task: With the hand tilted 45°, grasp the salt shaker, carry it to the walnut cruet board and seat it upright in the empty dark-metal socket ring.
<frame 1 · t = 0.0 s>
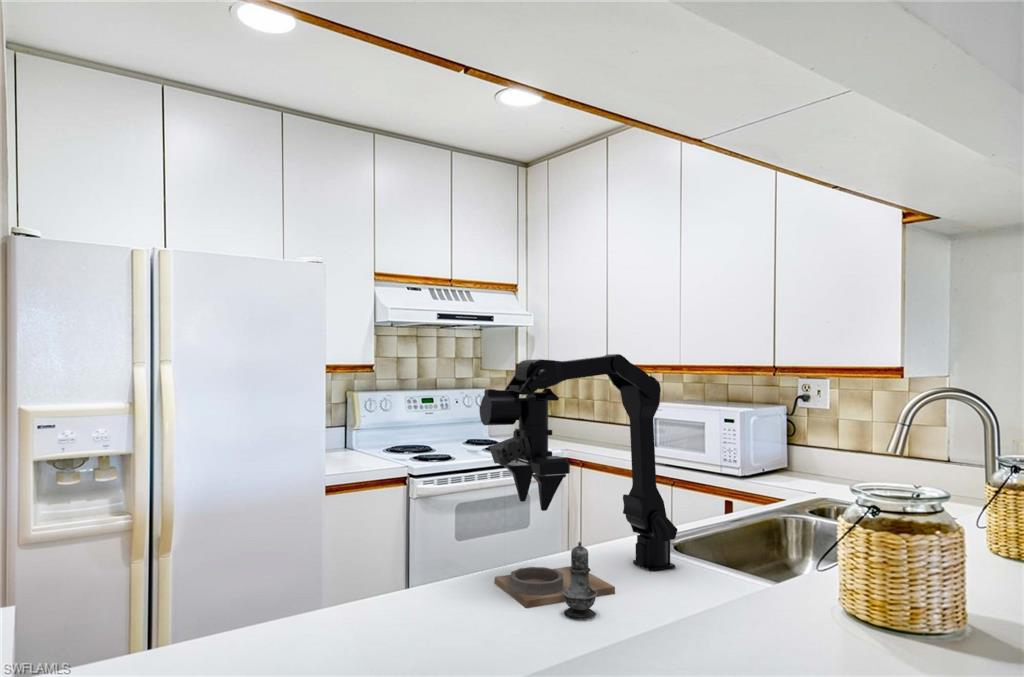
hand: (533, 505, 123), 15 cm above the counter, tool pointing down, fingers open, 9 cm apart
cruet board: (553, 588, 119), on the counter
salt shaker: (579, 615, 106), on the counter
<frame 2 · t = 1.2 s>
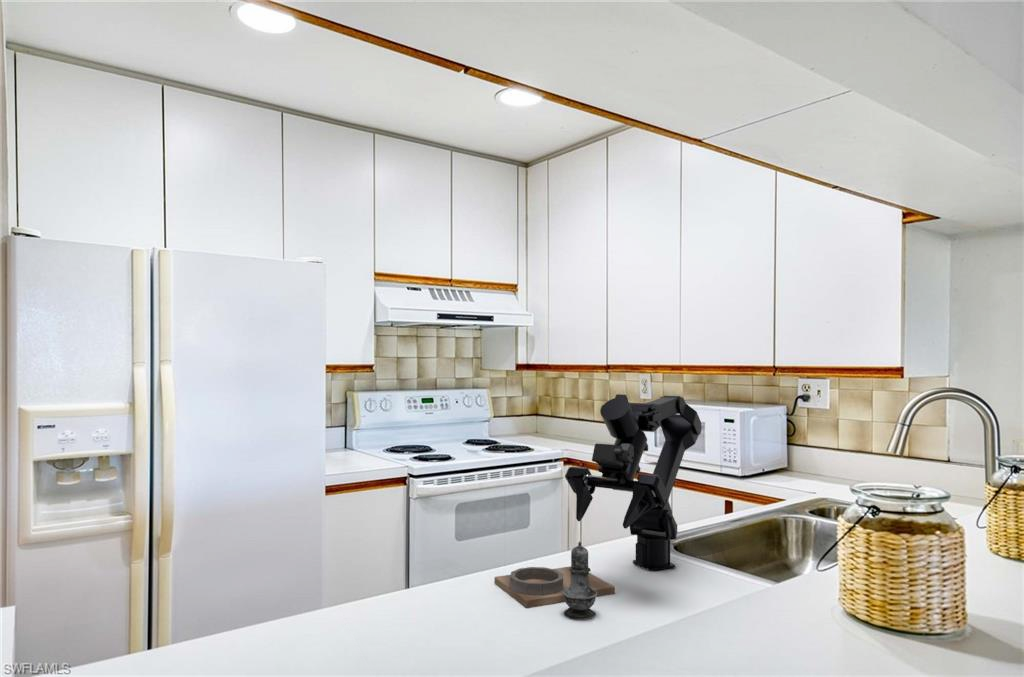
hand: (600, 523, 114), 13 cm above the counter, tool tilted 45°, fingers open, 9 cm apart
nothing on the counter moved.
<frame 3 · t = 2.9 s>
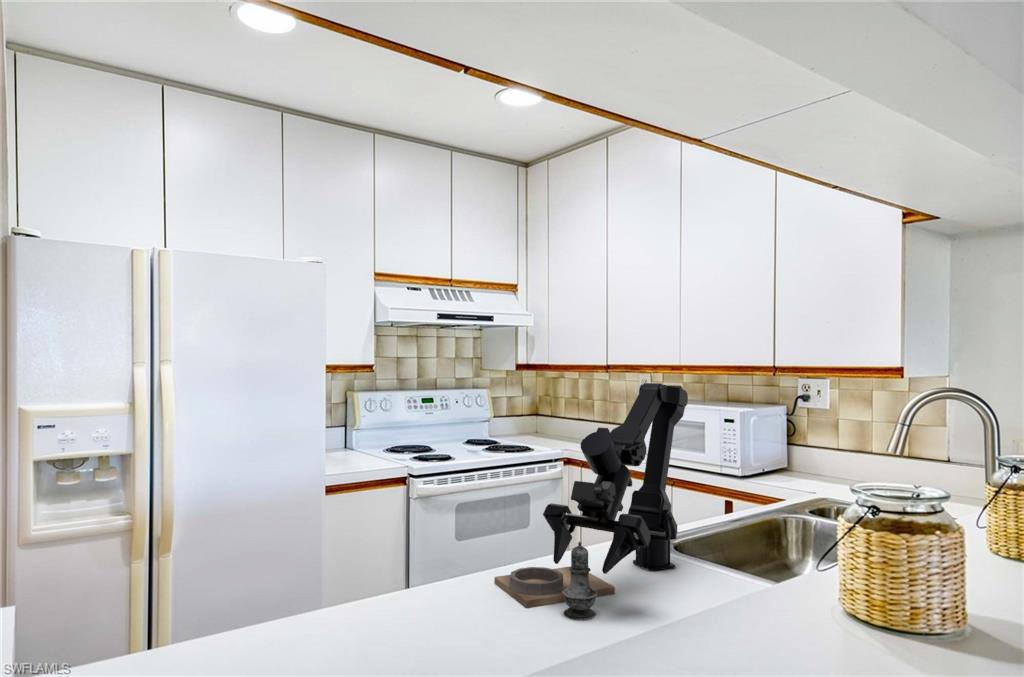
hand: (579, 567, 107), 8 cm above the counter, tool tilted 45°, fingers open, 9 cm apart
nothing on the counter moved.
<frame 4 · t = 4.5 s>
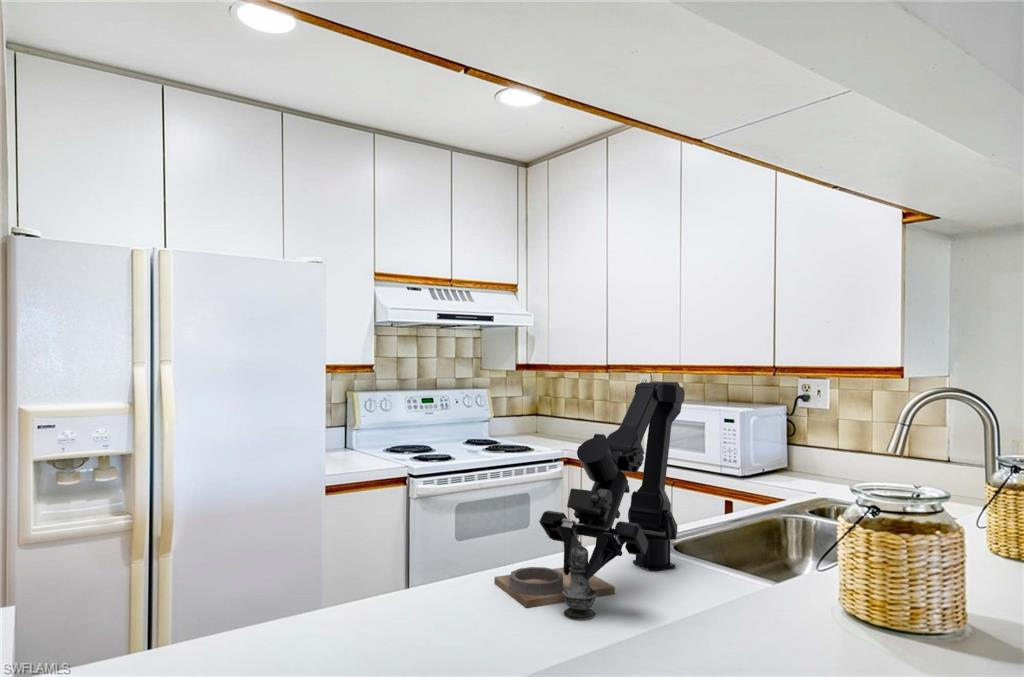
hand: (575, 576, 106), 7 cm above the counter, tool tilted 45°, fingers closed on salt shaker, 4 cm apart
salt shaker: (579, 615, 106), on the counter, touching gripper
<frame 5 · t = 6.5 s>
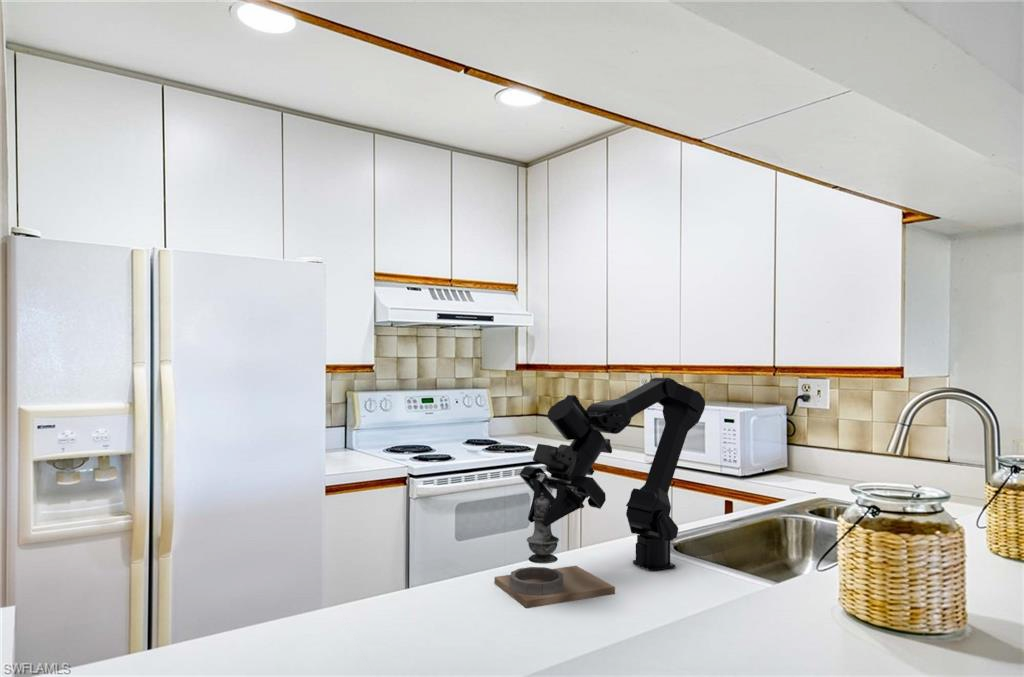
hand: (536, 523, 115), 13 cm above the counter, tool tilted 45°, fingers closed on salt shaker, 4 cm apart
salt shaker: (543, 560, 115), point 6 cm above the counter, touching gripper
when the fingers open (9 cm above the counter, at t = 8.5 s): salt shaker stays where it is, resting on cruet board.
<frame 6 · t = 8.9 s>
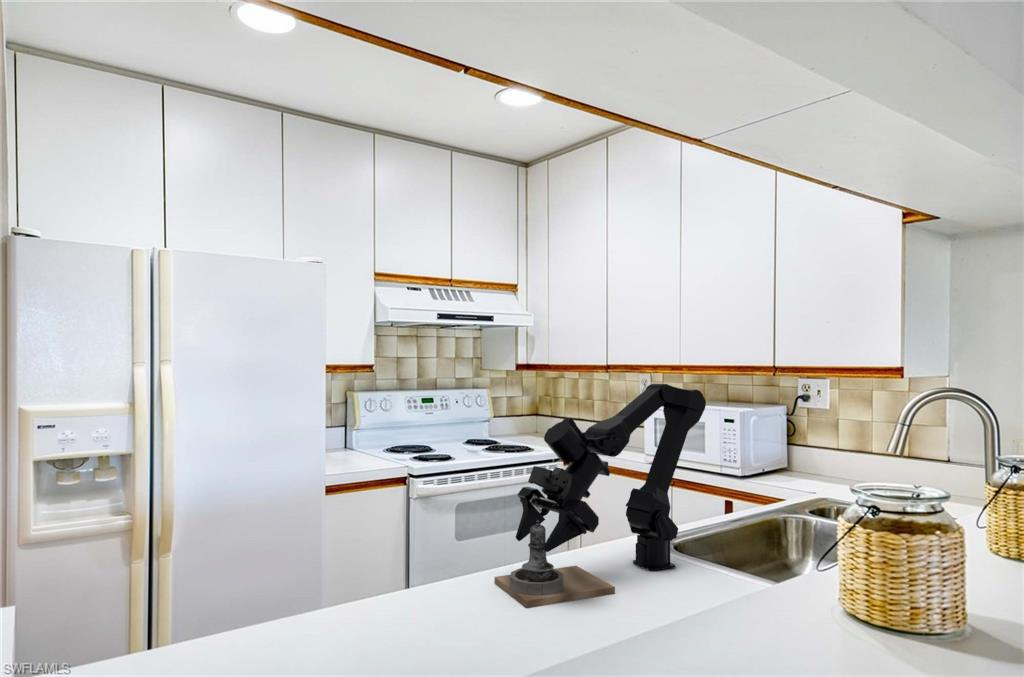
hand: (530, 544, 116), 9 cm above the counter, tool tilted 45°, fingers open, 8 cm apart
salt shaker: (537, 587, 117), point 1 cm above the counter, touching cruet board
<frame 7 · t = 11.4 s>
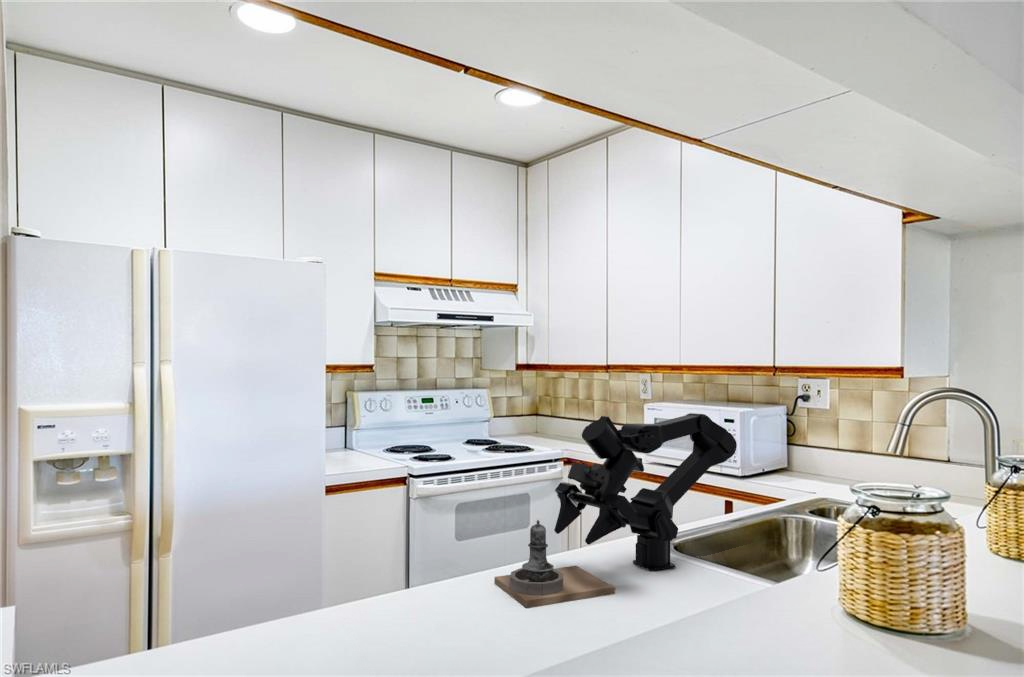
hand: (570, 537, 122), 9 cm above the counter, tool tilted 45°, fingers open, 9 cm apart
nothing on the counter moved.
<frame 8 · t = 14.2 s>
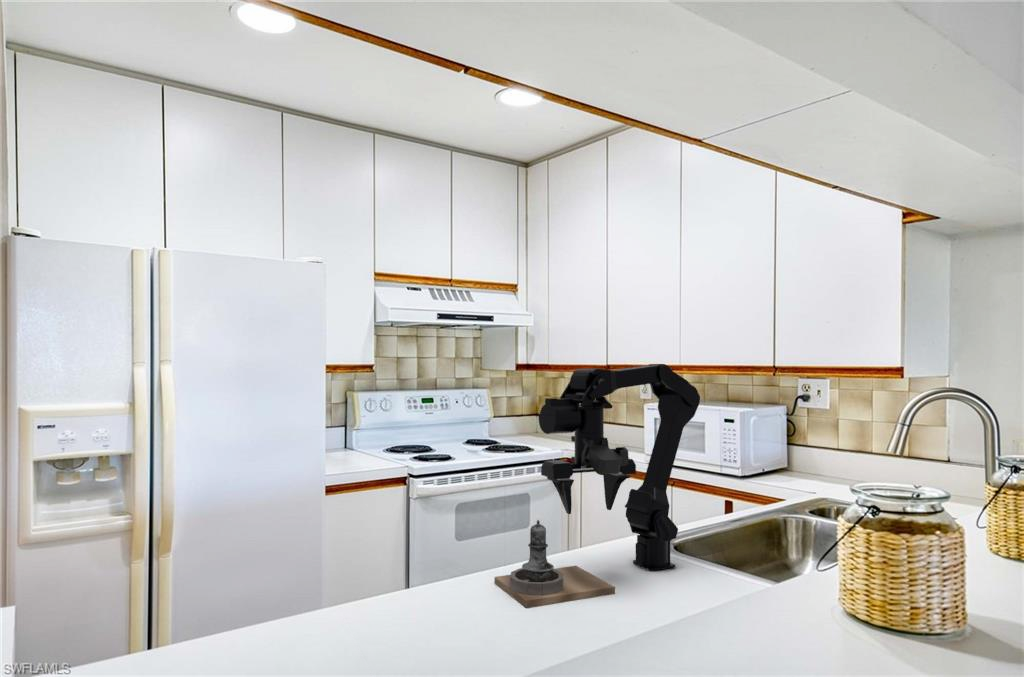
hand: (589, 511, 125), 13 cm above the counter, tool pointing down, fingers open, 9 cm apart
nothing on the counter moved.
at the end: salt shaker 0.2 cm from the target spot on the cruet board, point 1.0 cm above the cruet board's base; salt shaker tilted 0°; the gripper is holding nothing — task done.
